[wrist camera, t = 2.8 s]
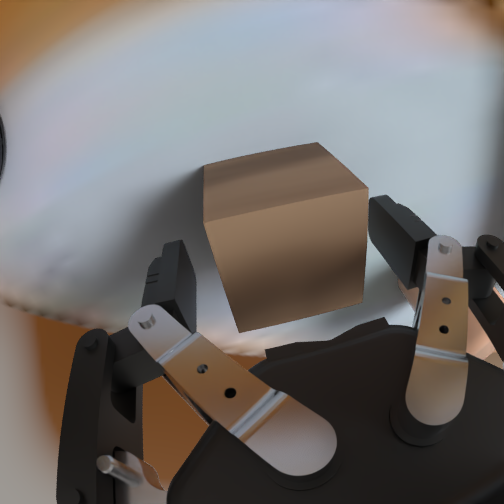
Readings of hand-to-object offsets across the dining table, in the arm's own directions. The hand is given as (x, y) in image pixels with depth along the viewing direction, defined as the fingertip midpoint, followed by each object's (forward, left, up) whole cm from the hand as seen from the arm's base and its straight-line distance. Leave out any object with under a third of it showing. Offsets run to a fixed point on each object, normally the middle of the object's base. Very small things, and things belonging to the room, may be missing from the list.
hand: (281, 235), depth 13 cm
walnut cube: (0, 0, -2) cm, 2 cm away
